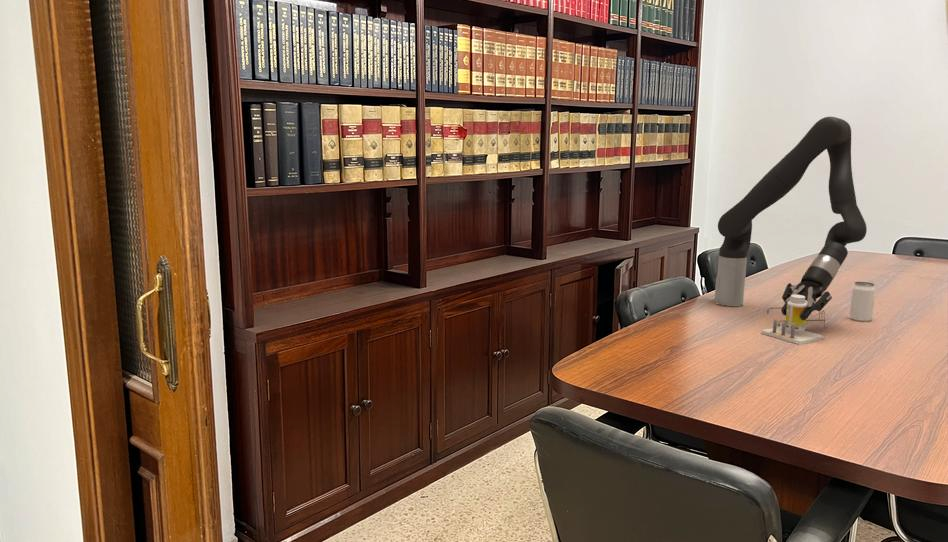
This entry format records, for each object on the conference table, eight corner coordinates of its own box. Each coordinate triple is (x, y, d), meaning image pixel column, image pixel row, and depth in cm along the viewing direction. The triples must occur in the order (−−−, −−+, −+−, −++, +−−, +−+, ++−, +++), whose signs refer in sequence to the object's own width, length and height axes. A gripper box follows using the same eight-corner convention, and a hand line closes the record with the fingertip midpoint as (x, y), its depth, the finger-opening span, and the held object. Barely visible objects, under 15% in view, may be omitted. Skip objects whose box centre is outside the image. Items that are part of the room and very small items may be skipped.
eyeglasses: (828, 330, 215) (830, 314, 214) (777, 327, 217) (779, 312, 216) (813, 316, 230) (815, 302, 229) (766, 314, 233) (767, 299, 232)
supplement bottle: (809, 330, 205) (812, 297, 203) (796, 332, 203) (799, 299, 201) (793, 325, 210) (796, 293, 208) (780, 327, 208) (783, 295, 206)
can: (874, 322, 221) (879, 286, 219) (852, 321, 223) (856, 285, 220) (867, 317, 228) (871, 281, 225) (846, 316, 229) (850, 280, 226)
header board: (761, 333, 209) (762, 317, 208) (784, 328, 215) (786, 312, 214) (800, 344, 198) (801, 328, 197) (823, 339, 204) (825, 322, 203)
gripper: (795, 261, 213) (766, 303, 209) (839, 269, 200) (809, 314, 197) (804, 276, 216) (776, 318, 213) (848, 285, 204) (819, 329, 201)
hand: (792, 316), depth 205 cm, fingers closed on supplement bottle, 5 cm apart
